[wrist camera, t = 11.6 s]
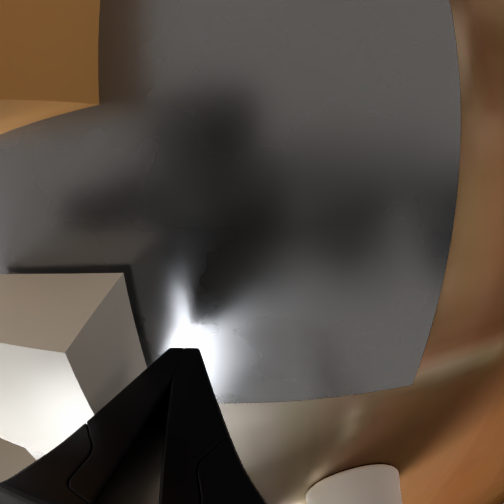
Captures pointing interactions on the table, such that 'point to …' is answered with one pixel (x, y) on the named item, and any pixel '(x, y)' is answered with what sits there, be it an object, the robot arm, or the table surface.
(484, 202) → the table surface
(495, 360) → the table surface
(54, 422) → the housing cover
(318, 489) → the cosmetic bottle
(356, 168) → the base plate
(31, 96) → the orange hollow square block
